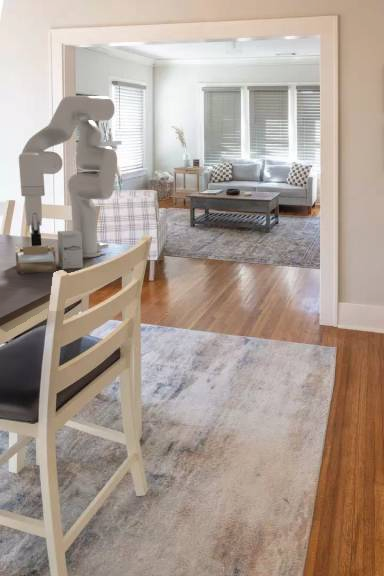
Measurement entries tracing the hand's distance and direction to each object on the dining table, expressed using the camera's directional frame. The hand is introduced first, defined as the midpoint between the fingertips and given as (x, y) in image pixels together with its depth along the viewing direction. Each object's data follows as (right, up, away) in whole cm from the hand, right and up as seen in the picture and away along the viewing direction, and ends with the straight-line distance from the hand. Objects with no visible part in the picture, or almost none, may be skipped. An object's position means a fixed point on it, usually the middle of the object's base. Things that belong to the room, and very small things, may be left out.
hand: (36, 245), depth 196 cm
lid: (+1, -5, -5) cm, 7 cm away
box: (-2, -8, +8) cm, 11 cm away
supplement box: (+9, -7, +11) cm, 16 cm away
